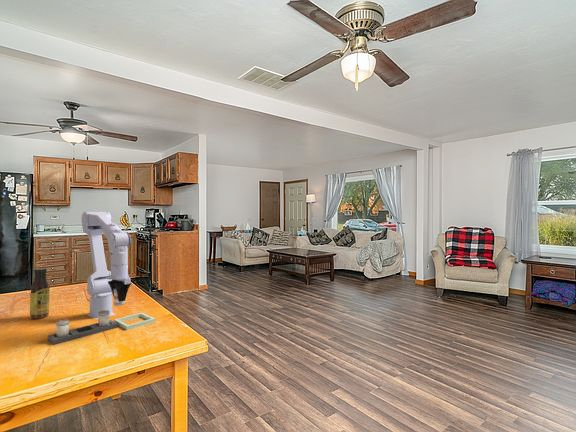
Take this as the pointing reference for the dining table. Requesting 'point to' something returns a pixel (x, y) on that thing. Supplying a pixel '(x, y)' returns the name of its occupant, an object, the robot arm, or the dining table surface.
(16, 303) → the dining table surface
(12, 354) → the dining table surface
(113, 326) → the fuse block
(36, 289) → the sauce bottle
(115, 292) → the fuse marked
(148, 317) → the tray
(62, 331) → the fuse
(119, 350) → the dining table surface
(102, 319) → the fuse
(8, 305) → the dining table surface
